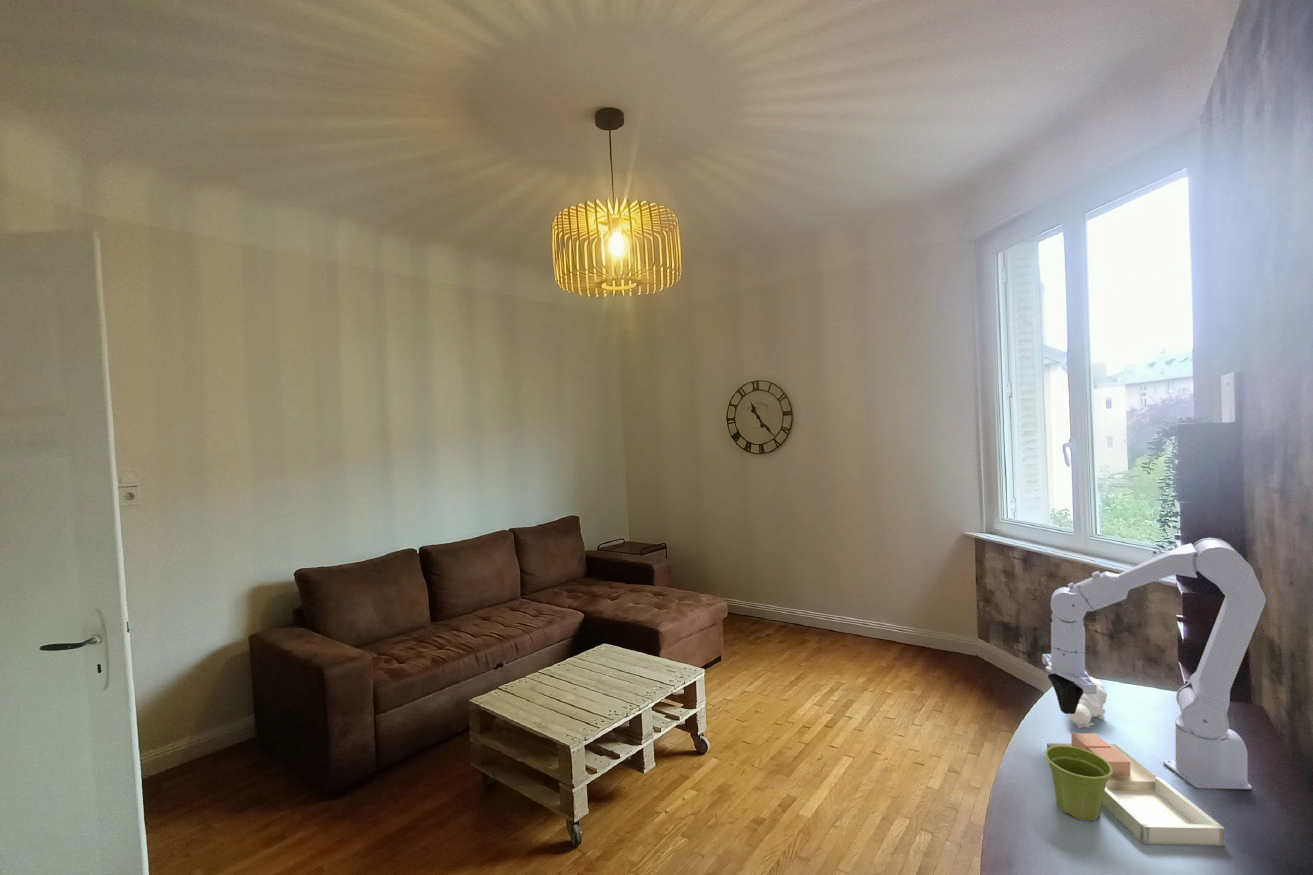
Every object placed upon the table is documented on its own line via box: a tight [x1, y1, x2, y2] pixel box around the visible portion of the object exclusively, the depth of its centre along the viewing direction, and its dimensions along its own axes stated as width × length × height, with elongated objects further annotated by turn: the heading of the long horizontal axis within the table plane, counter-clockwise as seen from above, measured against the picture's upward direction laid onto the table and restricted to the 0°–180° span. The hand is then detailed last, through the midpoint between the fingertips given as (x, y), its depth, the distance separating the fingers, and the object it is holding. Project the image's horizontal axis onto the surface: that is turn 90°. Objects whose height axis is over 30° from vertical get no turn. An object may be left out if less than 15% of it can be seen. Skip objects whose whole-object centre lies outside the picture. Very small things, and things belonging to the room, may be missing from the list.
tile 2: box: [1088, 748, 1130, 775], centre depth 109 cm, size 4×4×2 cm
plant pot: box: [1044, 746, 1113, 822], centre depth 101 cm, size 9×9×9 cm
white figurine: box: [1066, 676, 1108, 729], centre depth 129 cm, size 6×8×12 cm
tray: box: [1102, 776, 1226, 847], centre depth 99 cm, size 12×13×3 cm
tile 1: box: [1070, 732, 1111, 751], centre depth 114 cm, size 4×4×2 cm
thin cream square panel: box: [1046, 742, 1157, 791], centre depth 111 cm, size 13×12×2 cm
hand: (1067, 712), depth 121 cm, fingers closed
